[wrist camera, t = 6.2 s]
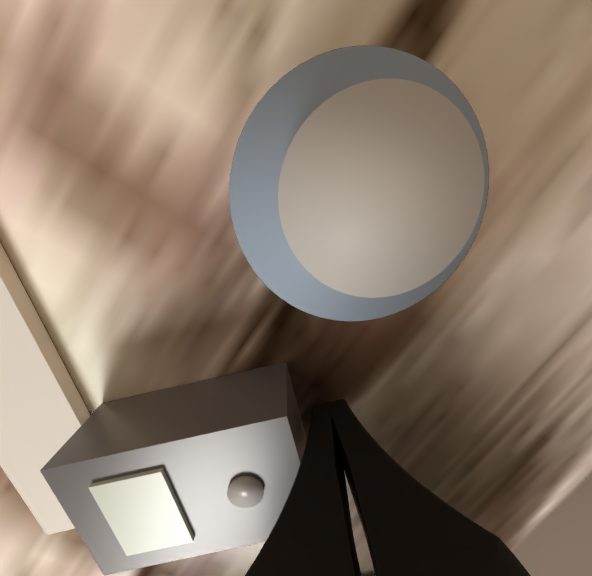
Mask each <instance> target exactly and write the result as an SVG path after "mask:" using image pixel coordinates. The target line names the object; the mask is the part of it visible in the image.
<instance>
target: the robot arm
mask: <svg viewBox="0 0 592 576" xmlns="http://www.w3.org/2000/svg"><path fill="white" fill-rule="evenodd" d="M344 471H345V474H346V477H347V480H348V483H349V486H350V489H351V492H352V495H353V498H354V502H355V505H356V508H357V511H358V514H359V517H360V520H361V523H362V526H363V529H364V533H365V536H366V540H367V543H368V547H369V551H370V555H371V559H372V563H373V567H374V571H375V575H373V576H530V574H529V573H528V572H527V570H526V569H525V568H524V567H523V565H522V564H521V563H520V562H519V560H518V559H517V558H516V557H515V555H514V554H513V553H512V552H511V551H510V550H509V548H508V547H507V546H506V545H505V544H504V543H503V542H502V540H501V539H500V538H499V537H497V536H495V535H494V534H492V533H491V532H489V531H487V530H486V529H484V528H482V527H481V526H479V525H478V524H476V523H474V522H473V521H471V520H470V519H468V518H467V517H465V516H464V515H462V514H461V513H459V512H458V511H456V510H455V509H454V508H452V507H451V506H449V505H448V504H446V503H445V502H444V501H442V500H441V499H440V498H438V497H437V496H436V495H434V494H433V493H432V492H431V491H429V490H428V489H427V488H425V487H424V486H423V485H421V484H420V483H419V482H418V481H417V480H415V479H414V478H413V477H412V476H411V475H410V474H408V473H407V472H406V471H405V470H404V469H403V468H402V467H401V466H399V465H398V464H397V463H396V462H395V461H394V460H393V459H392V458H391V457H390V456H389V455H388V454H387V453H386V452H385V451H384V450H383V449H382V448H381V447H380V446H379V445H378V443H377V442H376V441H375V440H374V439H373V438H372V437H371V435H370V434H369V433H368V432H367V431H366V429H365V428H364V427H363V426H362V425H361V423H360V422H359V421H358V419H357V418H356V416H355V415H354V414H353V412H352V411H351V409H350V407H349V406H348V404H347V402H346V401H345V400H344V399H341V400H336V401H332V402H327V403H323V404H318V405H314V406H313V407H312V414H311V422H310V428H309V433H308V437H307V442H306V446H305V450H304V453H303V456H302V460H301V463H300V466H299V469H298V472H297V475H296V478H295V481H294V483H293V486H292V488H291V491H290V493H289V496H288V498H287V500H286V502H285V505H284V507H283V509H282V511H281V513H280V515H279V517H278V520H277V522H276V523H275V525H274V527H273V529H272V531H271V533H270V535H269V536H268V538H267V540H266V542H265V544H264V545H263V547H262V549H261V551H260V553H259V554H258V556H257V558H256V559H255V561H254V562H253V564H252V565H251V567H250V569H249V570H248V572H247V573H246V575H245V576H361V572H360V567H359V563H358V558H357V553H356V548H355V543H354V537H353V531H352V524H351V517H350V509H349V502H348V495H347V488H346V481H345V474H344Z"/></svg>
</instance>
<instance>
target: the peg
mask: <svg viewBox="0 0 592 576" xmlns="http://www.w3.org/2000/svg"><path fill="white" fill-rule="evenodd" d="M488 188H489V165H488V155H487V149H486V145H485V140H484V136H483V133H482V130H481V127H480V125H479V122H478V120H477V117H476V115H475V113H474V111H473V110H472V108H471V106H470V104H469V102H468V101H467V99H466V98H465V97H464V95H463V94H462V93H461V91H460V90H459V89H458V87H457V86H456V85H455V84H454V83H453V82H452V81H451V80H450V79H449V78H448V77H447V76H446V75H445V74H444V73H442V72H441V71H440V70H438V69H437V68H435V67H434V66H433V65H431V64H430V63H428V62H427V61H425V60H423V59H421V58H419V57H417V56H414V55H412V54H410V53H407V52H404V51H400V50H397V49H394V48H388V47H381V46H352V47H346V48H340V49H335V50H332V51H329V52H326V53H323V54H320V55H318V56H316V57H314V58H312V59H310V60H308V61H306V62H304V63H302V64H300V65H298V66H297V67H296V68H294V69H293V70H291V71H290V72H289V73H287V74H286V75H284V76H283V77H282V78H281V79H280V80H279V81H278V82H277V83H276V84H275V85H274V86H272V87H271V88H270V89H269V90H268V92H267V93H266V94H265V95H264V97H263V98H262V99H261V100H260V102H259V103H258V104H257V105H256V107H255V109H254V110H253V112H252V114H251V115H250V117H249V118H248V120H247V122H246V124H245V126H244V128H243V131H242V133H241V135H240V137H239V140H238V143H237V146H236V150H235V153H234V156H233V161H232V167H231V173H230V187H229V199H230V210H231V217H232V221H233V226H234V230H235V233H236V236H237V239H238V242H239V244H240V247H241V249H242V251H243V253H244V255H245V257H246V259H247V261H248V263H249V264H250V266H251V267H252V268H253V270H254V271H255V273H256V274H257V276H258V277H259V278H260V279H261V280H262V281H263V282H264V284H265V285H266V286H267V287H268V288H269V289H270V290H272V291H273V292H274V293H275V294H276V295H277V296H279V297H280V298H281V299H283V300H284V301H286V302H287V303H289V304H290V305H292V306H294V307H296V308H298V309H300V310H302V311H304V312H306V313H309V314H312V315H315V316H318V317H321V318H326V319H331V320H338V321H366V320H371V319H377V318H382V317H385V316H388V315H392V314H395V313H397V312H400V311H402V310H404V309H407V308H409V307H411V306H412V305H414V304H416V303H418V302H419V301H421V300H423V299H424V298H425V297H427V296H428V295H429V294H431V293H432V292H434V291H435V290H436V289H437V288H438V287H439V286H440V285H441V284H442V283H444V282H445V281H446V280H447V279H448V278H449V276H450V275H451V274H452V273H453V272H454V271H455V269H456V268H457V267H458V266H459V264H460V263H461V261H462V260H463V258H464V257H465V255H466V254H467V252H468V251H469V249H470V247H471V245H472V243H473V241H474V239H475V237H476V235H477V232H478V230H479V227H480V224H481V222H482V218H483V214H484V211H485V207H486V202H487V195H488Z"/></svg>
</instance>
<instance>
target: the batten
mask: <svg viewBox="0 0 592 576" xmlns="http://www.w3.org/2000/svg"><path fill="white" fill-rule="evenodd" d="M90 416H91V415H90V413H89V411H88V409H87V408H86V406H85V404H84V402H83V400H82V398H81V396H80V394H79V392H78V390H77V388H76V386H75V385H74V383H73V381H72V379H71V377H70V375H69V373H68V371H67V369H66V367H65V365H64V364H63V362H62V360H61V358H60V356H59V354H58V352H57V350H56V348H55V346H54V344H53V343H52V341H51V339H50V337H49V335H48V333H47V331H46V329H45V327H44V325H43V323H42V321H41V320H40V318H39V316H38V314H37V312H36V310H35V308H34V306H33V304H32V302H31V300H30V299H29V297H28V295H27V293H26V291H25V289H24V287H23V285H22V283H21V281H20V279H19V278H18V276H17V274H16V272H15V270H14V268H13V266H12V264H11V262H10V260H9V258H8V256H7V255H6V253H5V251H4V249H3V247H2V245H1V243H0V466H1V467H2V469H3V470H4V472H5V473H6V475H7V476H8V478H9V479H10V481H11V482H12V484H13V485H14V487H15V488H16V490H17V491H18V493H19V494H20V496H21V497H22V499H23V500H24V502H25V503H26V505H27V506H28V508H29V509H30V510H31V512H32V513H33V515H34V516H35V518H36V519H37V521H38V522H39V524H40V525H41V527H42V528H43V530H44V531H45V533H46V534H47V535H48V534H52V533H57V532H61V531H66V530H70V529H75V527H74V526H73V524H72V522H71V521H70V519H69V517H68V516H67V514H66V512H65V511H64V509H63V508H62V506H61V504H60V503H59V501H58V499H57V498H56V496H55V495H54V493H53V491H52V490H51V488H50V486H49V485H48V483H47V481H46V480H45V478H44V477H43V475H42V473H41V472H40V470H41V469H42V468H43V467H44V466H45V464H46V463H47V462H48V461H49V460H50V459H51V458H52V457H53V456H54V455H55V454H56V453H57V451H58V450H59V449H60V448H61V447H62V446H63V445H64V444H65V443H66V442H67V441H68V440H69V439H70V437H71V436H72V435H73V434H74V433H75V432H76V431H77V430H78V429H79V428H80V427H81V426H82V424H83V423H84V422H85V421H86V420H87V419H88V418H89V417H90Z"/></svg>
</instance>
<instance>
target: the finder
mask: <svg viewBox="0 0 592 576" xmlns="http://www.w3.org/2000/svg"><path fill="white" fill-rule="evenodd" d="M306 442H307V438H306V434H305V430H304V427H303V423H302V419H301V415H300V412H299V408H298V404H297V400H296V397H295V393H294V389H293V386H292V382H291V378H290V374H289V371H288V367H287V363H286V362H283V363H278V364H274V365H269V366H265V367H261V368H256V369H252V370H247V371H243V372H238V373H234V374H229V375H225V376H220V377H216V378H211V379H207V380H202V381H198V382H194V383H189V384H185V385H180V386H176V387H171V388H167V389H162V390H158V391H153V392H149V393H144V394H140V395H136V396H131V397H127V398H122V399H118V400H113V401H109V402H104V403H102V404H101V405H100V406H99V407H98V408H97V409H96V410H95V412H94V413H93V414H92V415H91V416H90V417H89V418H88V419H87V420H86V421H85V422H84V423H83V424H82V426H81V427H80V428H79V429H78V430H77V431H76V432H75V433H74V434H73V435H72V436H71V437H70V439H69V440H68V441H67V442H66V443H65V444H64V445H63V446H62V447H61V448H60V449H59V450H58V451H57V453H56V454H55V455H54V456H53V457H52V458H51V459H50V460H49V461H48V462H47V463H46V464H45V466H44V467H43V468H42V469H41V470H40V472H41V473H42V475H43V477H44V478H45V480H46V481H47V483H48V485H49V486H50V488H51V490H52V491H53V493H54V495H55V496H56V498H57V499H58V501H59V503H60V504H61V506H62V508H63V509H64V511H65V512H66V514H67V516H68V517H69V519H70V521H71V522H72V524H73V526H74V527H75V529H76V530H77V532H78V534H79V535H80V537H81V539H82V540H83V542H84V544H85V545H86V547H87V548H88V550H89V552H90V553H91V555H92V557H93V558H94V560H95V562H96V563H97V565H98V566H99V568H100V570H101V571H102V573H103V575H109V574H113V573H118V572H123V571H128V570H132V569H137V568H142V567H147V566H151V565H156V564H161V563H166V562H170V561H175V560H180V559H185V558H189V557H194V556H199V555H204V554H208V553H213V552H218V551H223V550H227V549H232V548H237V547H242V546H247V545H251V544H256V543H261V542H266V540H267V538H268V536H269V535H270V533H271V531H272V529H273V527H274V525H275V523H276V522H277V520H278V517H279V515H280V513H281V511H282V509H283V507H284V505H285V502H286V500H287V498H288V496H289V493H290V491H291V488H292V486H293V483H294V481H295V478H296V475H297V472H298V469H299V466H300V463H301V460H302V456H303V453H304V450H305V446H306Z"/></svg>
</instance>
